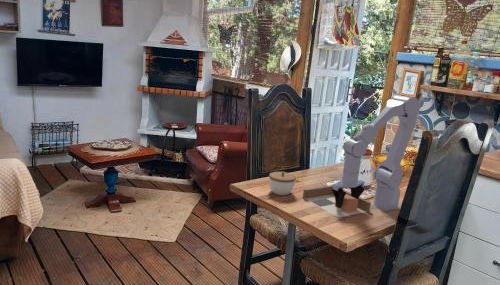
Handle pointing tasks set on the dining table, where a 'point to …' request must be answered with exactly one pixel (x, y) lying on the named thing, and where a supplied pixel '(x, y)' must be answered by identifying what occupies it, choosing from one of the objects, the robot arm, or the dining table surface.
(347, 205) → the bar
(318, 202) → the pad
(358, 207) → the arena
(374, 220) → the dining table surface
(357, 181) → the robot arm
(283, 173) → the lidded jar
